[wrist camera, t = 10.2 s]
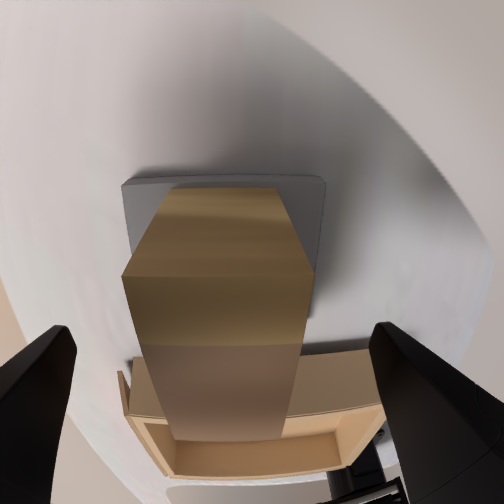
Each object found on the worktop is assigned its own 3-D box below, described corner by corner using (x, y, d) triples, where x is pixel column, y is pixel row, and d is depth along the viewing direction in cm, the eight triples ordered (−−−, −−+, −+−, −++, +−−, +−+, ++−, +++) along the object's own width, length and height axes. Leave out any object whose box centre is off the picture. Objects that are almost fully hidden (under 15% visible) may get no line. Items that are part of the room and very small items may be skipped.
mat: (300, 322, 16) (304, 334, 15) (153, 324, 16) (150, 337, 15) (319, 176, 12) (325, 182, 11) (128, 178, 12) (121, 185, 11)
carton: (347, 434, 24) (357, 468, 21) (159, 443, 23) (155, 480, 20) (399, 335, 18) (424, 381, 14) (113, 346, 16) (95, 398, 13)
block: (265, 333, 15) (280, 438, 10) (186, 334, 15) (174, 439, 9) (275, 188, 11) (314, 274, 6) (170, 188, 11) (121, 276, 6)
